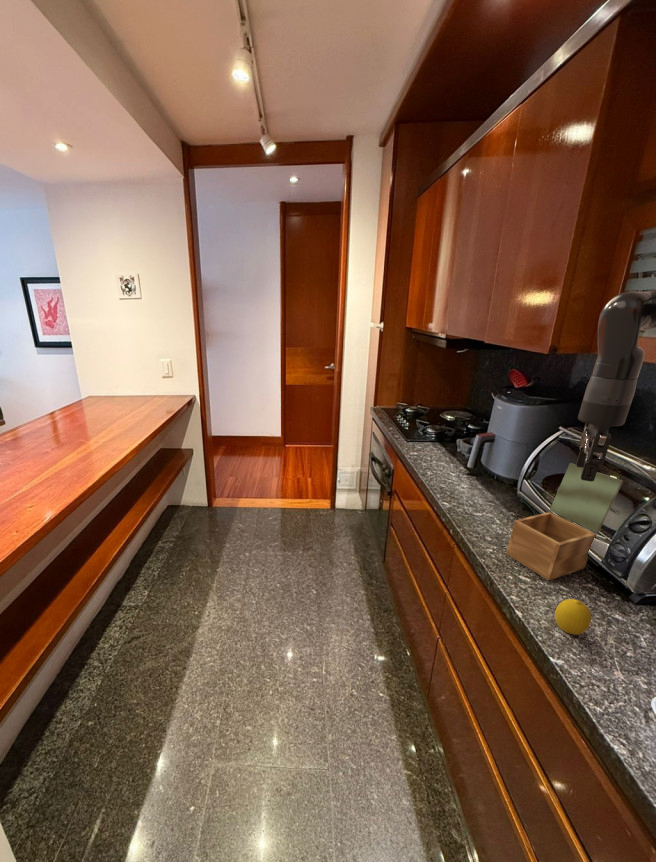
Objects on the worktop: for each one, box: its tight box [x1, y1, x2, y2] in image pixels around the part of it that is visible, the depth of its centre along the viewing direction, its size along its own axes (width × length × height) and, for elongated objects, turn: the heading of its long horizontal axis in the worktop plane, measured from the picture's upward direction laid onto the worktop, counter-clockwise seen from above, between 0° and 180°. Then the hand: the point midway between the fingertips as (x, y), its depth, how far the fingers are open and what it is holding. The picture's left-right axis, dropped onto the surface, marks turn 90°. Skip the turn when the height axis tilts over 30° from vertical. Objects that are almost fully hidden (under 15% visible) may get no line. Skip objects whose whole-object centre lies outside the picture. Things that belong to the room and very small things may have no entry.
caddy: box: [505, 511, 598, 581], centre depth 97 cm, size 13×12×10 cm
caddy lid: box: [549, 462, 624, 534], centre depth 95 cm, size 13×12×1 cm
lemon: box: [554, 598, 592, 635], centre depth 76 cm, size 6×6×8 cm
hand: (584, 473), depth 84 cm, fingers open, 8 cm apart
